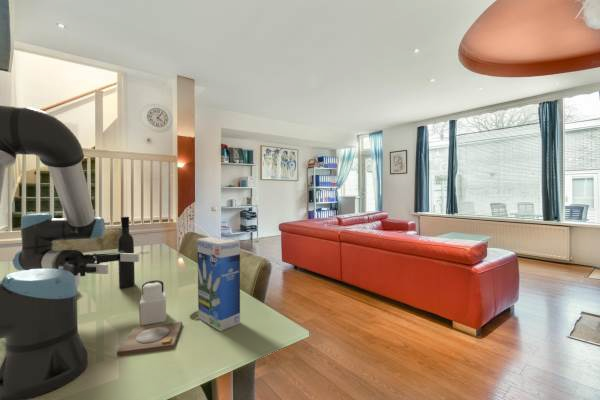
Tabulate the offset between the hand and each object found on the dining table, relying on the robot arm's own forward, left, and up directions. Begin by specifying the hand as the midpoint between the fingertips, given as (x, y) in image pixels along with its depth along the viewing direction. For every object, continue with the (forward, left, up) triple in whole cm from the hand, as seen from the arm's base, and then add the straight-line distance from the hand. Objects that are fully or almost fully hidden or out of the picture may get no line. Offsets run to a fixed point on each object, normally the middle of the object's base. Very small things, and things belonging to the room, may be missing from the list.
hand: (124, 263), depth 89 cm
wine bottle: (+34, +11, -18) cm, 40 cm away
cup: (+32, +31, -18) cm, 48 cm away
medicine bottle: (-4, -9, -18) cm, 21 cm away
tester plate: (-17, -12, -18) cm, 27 cm away
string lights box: (-10, -30, -18) cm, 36 cm away
